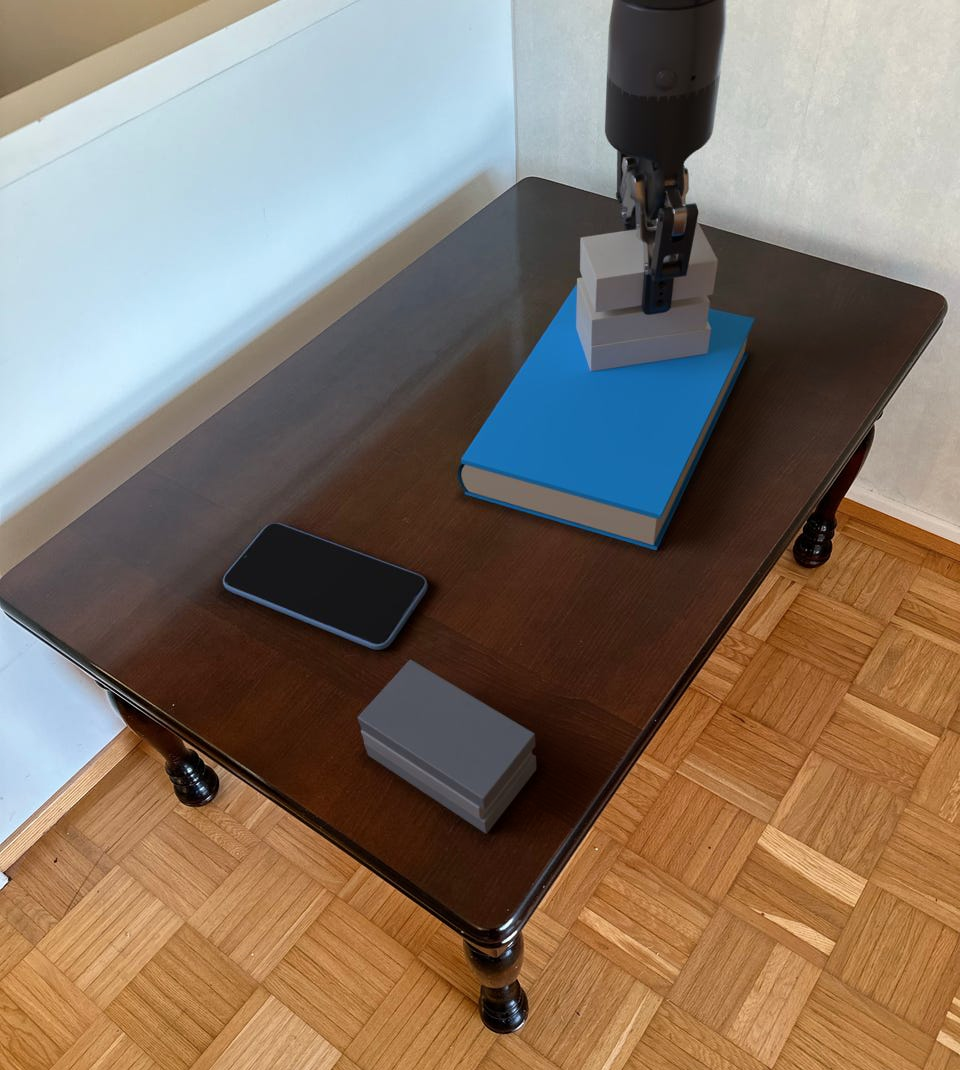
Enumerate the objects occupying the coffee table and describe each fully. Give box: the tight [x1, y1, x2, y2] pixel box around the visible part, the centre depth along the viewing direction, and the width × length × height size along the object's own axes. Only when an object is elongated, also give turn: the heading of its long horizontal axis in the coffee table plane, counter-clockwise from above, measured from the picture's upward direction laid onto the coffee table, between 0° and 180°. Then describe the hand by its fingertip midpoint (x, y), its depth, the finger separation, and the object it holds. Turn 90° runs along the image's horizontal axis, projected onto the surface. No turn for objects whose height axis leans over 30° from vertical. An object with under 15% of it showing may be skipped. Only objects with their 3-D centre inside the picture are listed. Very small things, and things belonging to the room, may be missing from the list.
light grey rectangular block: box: [576, 277, 711, 371], centre depth 78 cm, size 10×6×5 cm, turn 98°
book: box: [456, 283, 756, 551], centre depth 79 cm, size 17×4×25 cm
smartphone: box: [222, 522, 428, 651], centre depth 72 cm, size 7×1×15 cm
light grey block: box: [579, 220, 719, 312], centre depth 74 cm, size 10×6×3 cm, turn 98°
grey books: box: [357, 659, 537, 834], centre depth 60 cm, size 10×6×5 cm, turn 53°
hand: (645, 287), depth 76 cm, fingers closed on light grey block, 5 cm apart
